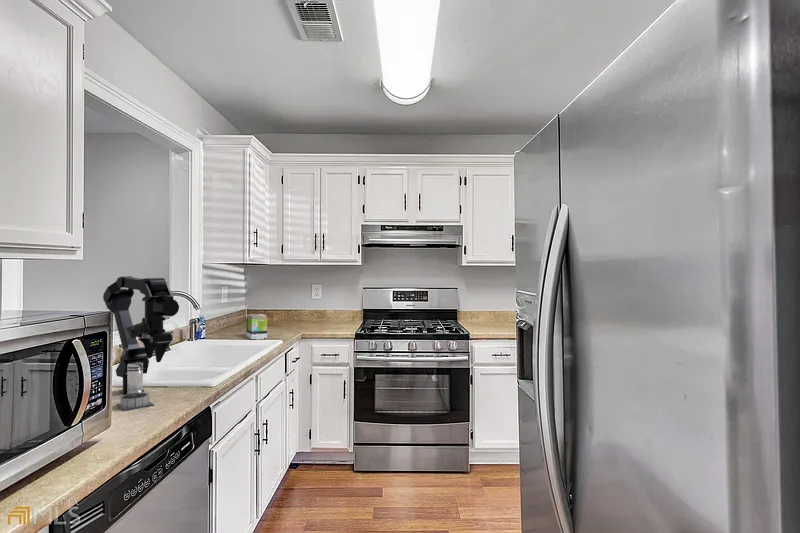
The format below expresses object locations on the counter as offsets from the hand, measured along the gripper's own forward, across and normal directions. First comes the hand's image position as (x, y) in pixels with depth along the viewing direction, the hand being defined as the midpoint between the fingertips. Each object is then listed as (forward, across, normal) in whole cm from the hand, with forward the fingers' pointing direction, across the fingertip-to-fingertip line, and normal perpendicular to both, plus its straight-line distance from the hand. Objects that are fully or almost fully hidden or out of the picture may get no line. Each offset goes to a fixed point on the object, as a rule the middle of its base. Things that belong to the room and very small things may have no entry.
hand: (153, 360), depth 164 cm
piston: (+12, +5, -7) cm, 15 cm away
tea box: (+13, -104, +93) cm, 140 cm away
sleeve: (+13, +5, -7) cm, 16 cm away
